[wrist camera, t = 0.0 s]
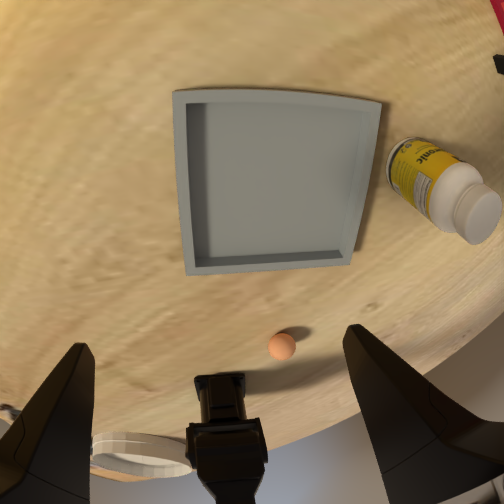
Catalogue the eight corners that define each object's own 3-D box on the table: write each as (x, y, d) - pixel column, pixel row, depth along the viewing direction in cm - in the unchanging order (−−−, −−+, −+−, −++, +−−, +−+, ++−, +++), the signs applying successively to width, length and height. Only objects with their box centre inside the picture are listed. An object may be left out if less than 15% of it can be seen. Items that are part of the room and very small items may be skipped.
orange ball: (290, 343, 34) (296, 363, 31) (265, 345, 33) (269, 367, 31) (293, 326, 32) (300, 347, 30) (266, 329, 32) (272, 351, 29)
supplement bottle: (434, 136, 21) (515, 182, 13) (426, 190, 24) (494, 249, 16) (386, 134, 21) (470, 183, 13) (380, 194, 24) (448, 261, 16)
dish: (85, 422, 43) (82, 444, 39) (197, 436, 49) (199, 459, 45) (100, 452, 54) (99, 469, 50) (186, 462, 60) (187, 479, 56)
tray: (342, 253, 27) (349, 264, 26) (186, 262, 25) (186, 276, 24) (369, 99, 19) (381, 103, 18) (175, 90, 17) (172, 92, 16)
